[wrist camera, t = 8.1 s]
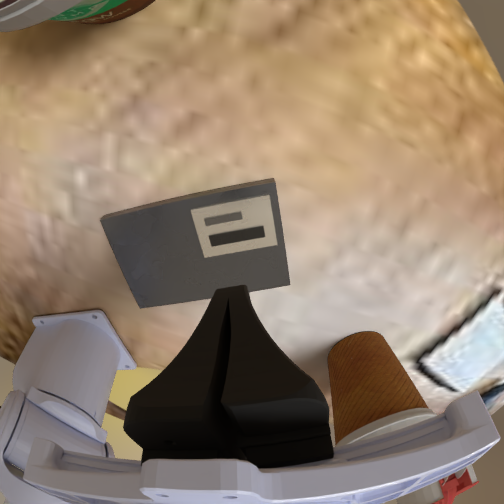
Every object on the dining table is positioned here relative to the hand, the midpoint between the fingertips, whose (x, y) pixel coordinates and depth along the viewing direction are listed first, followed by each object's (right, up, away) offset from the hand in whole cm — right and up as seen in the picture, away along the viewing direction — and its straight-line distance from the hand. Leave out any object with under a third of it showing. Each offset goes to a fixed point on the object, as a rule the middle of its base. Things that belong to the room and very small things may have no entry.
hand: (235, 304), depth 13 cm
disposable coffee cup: (+11, -8, +15) cm, 21 cm away
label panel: (-3, +3, +8) cm, 9 cm away
